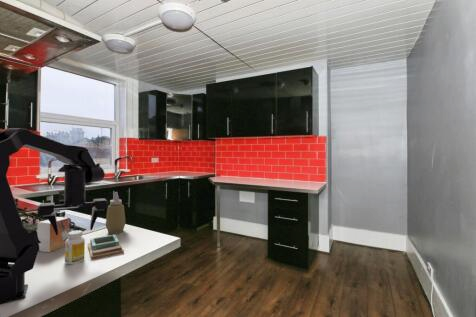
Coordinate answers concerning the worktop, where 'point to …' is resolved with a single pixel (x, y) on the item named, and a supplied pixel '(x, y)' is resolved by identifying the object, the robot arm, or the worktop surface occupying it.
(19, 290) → the robot arm
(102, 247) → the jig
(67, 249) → the supplement bottle
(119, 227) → the squeeze bottle
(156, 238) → the worktop surface
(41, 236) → the small box
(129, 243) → the worktop surface
